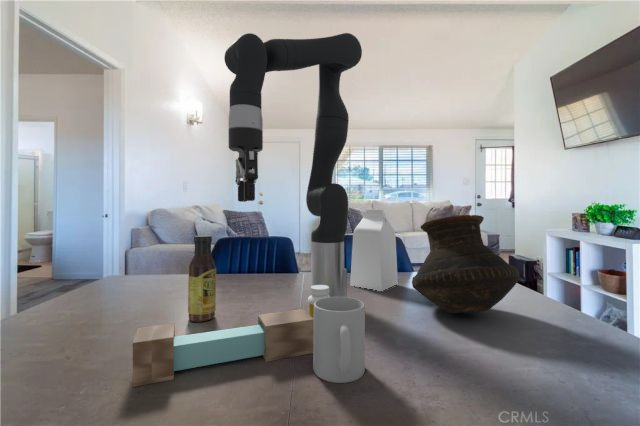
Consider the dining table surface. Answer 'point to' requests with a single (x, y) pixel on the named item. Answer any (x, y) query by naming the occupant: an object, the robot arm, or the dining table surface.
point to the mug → (339, 339)
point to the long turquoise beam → (218, 346)
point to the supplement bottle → (316, 297)
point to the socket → (153, 354)
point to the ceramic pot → (462, 267)
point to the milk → (374, 253)
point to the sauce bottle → (202, 282)
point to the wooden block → (287, 334)
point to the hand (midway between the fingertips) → (245, 201)
